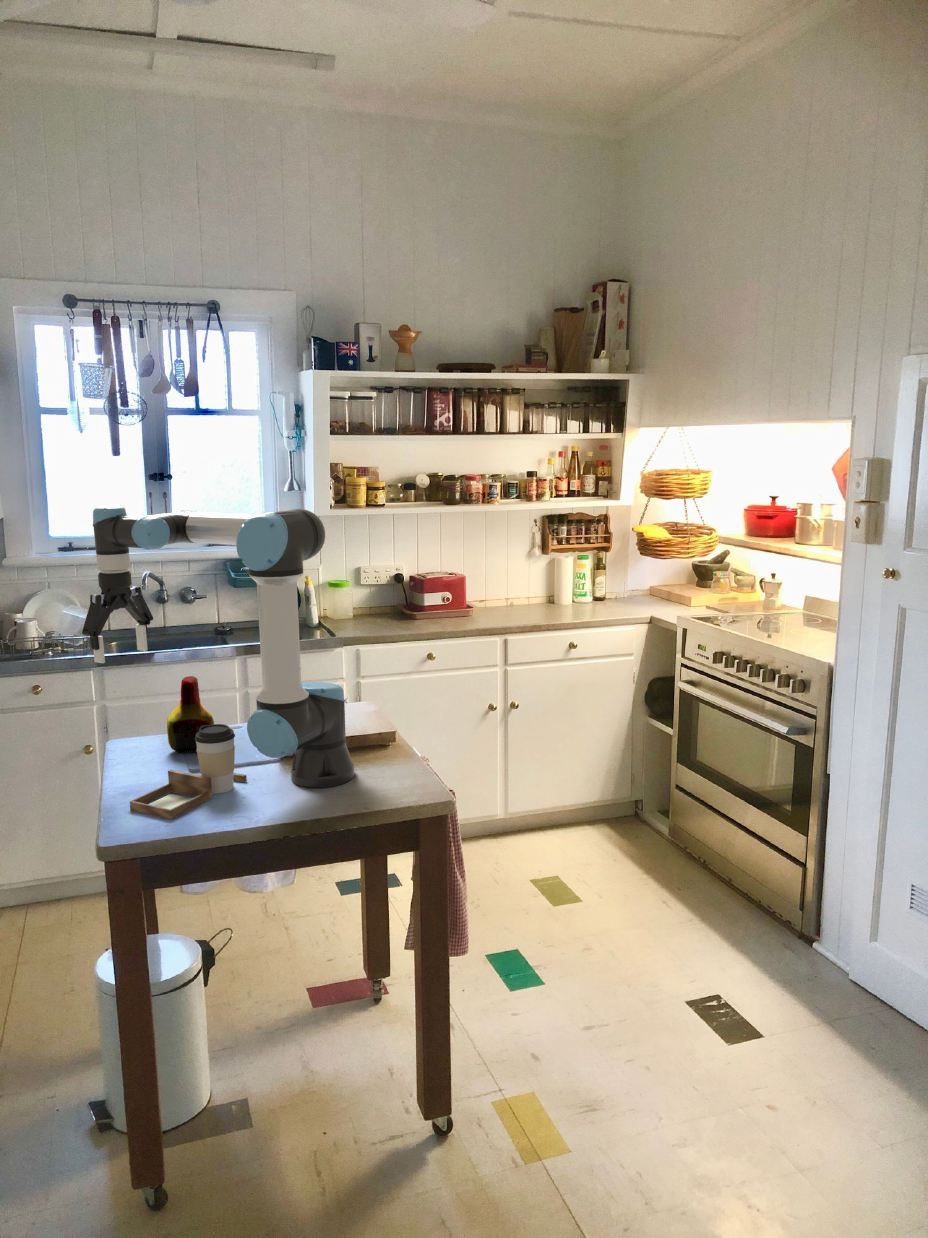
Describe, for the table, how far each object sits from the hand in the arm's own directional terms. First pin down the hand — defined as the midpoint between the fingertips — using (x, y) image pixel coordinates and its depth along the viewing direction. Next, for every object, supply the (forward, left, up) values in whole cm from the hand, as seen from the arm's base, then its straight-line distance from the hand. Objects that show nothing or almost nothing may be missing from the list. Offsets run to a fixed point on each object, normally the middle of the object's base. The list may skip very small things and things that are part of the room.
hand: (121, 656), depth 233 cm
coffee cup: (-31, +3, -28) cm, 42 cm away
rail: (-28, -3, -28) cm, 40 cm away
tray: (-28, +15, -28) cm, 42 cm away
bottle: (-7, -14, -28) cm, 32 cm away
